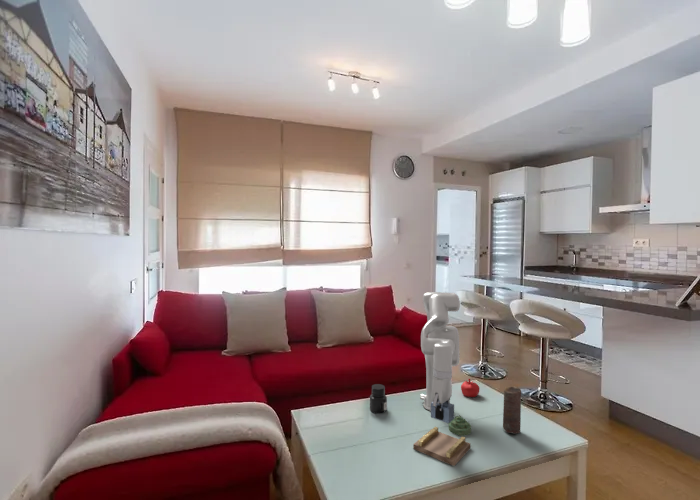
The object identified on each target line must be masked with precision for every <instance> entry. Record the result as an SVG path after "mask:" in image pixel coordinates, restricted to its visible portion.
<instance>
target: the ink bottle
mask: <svg viewBox="0 0 700 500" xmlns="http://www.w3.org/2000/svg"><path fill="white" fill-rule="evenodd" d="M385 389H386V387H385V385H384V384H382V383H381V384H380V383H375V384H372V385H371V394H370V396H369V410H370V411H371V412H372V413H374V412H375V414H383V413H385V412H387V410H388V398H387V397H388V396H387V395H386V394H385V393H386V390H385Z"/></svg>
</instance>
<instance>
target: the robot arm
mask: <svg viewBox="0 0 700 500" xmlns="http://www.w3.org/2000/svg"><path fill="white" fill-rule="evenodd" d="M422 304H423V308H424V311H425V313H426V317H427V318H426V319H427V321H426V323H425V324H424V326H423V327H422V329H421V333H420V348H421V352H422V354H423V355H424V358H425V368H426V370H425V371H426V372H425V373H426V376H425V377H426V382H425V383H426V393H425V394H423V393H420V395H419V399H420V400H422V401H423V403H422V404H423V405H422V406H423V408H425V410H427V411H430V412H431V403H432V402H433V401H434V402H433V406H434V407H435V418H436V419H435V420H437V419H439V420H438V421H440V420H443V410H442V407H443V403H444V402H447V403H450V402H451V401H450V400H451V398H452V394H453V385H452V384H453V383H452V378H453V367H457V366H459V364H460V360H461V359H460V357H461V356H460V353H461V352H460V333H459V330H458V328H457V327H456V326H453V325H448V324H449V320H450V319H449V312H458V311H459V310H460V307H461V301H460V298H459V296H458V295H457V293H455V292H440V291H438V292H437V291H433V292H432V291H429V292H425V293H424V294H423V295H422ZM438 400H439V401H440V402H439V401H438ZM438 404H440V406H439V405H438Z"/></svg>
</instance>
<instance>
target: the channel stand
mask: <svg viewBox="0 0 700 500" xmlns="http://www.w3.org/2000/svg"><path fill="white" fill-rule="evenodd" d="M466 439H467V438H466V437H465V436H460V438H457V437H454V436H452V435H449V434H446V433H443V432H440V431H439V427H438V426H434V427H433V428H431V429H429V431H427V432H426V433H425V434H424V435H422V436H421V437H420V438H419V439H418V440H416V441H415V442H414V443H413V446H412V447H413V448H412V449H413V450H415V451H418V452H420V453H422V454H425V455H427V456H429V457H431V458H434V459H435V460H439V461H441V462H443V463H445V464H448V465H449V466H450V465H451V466H453V467H455V466H456V465H457V464H458V463H459V462H460V461H461V459H462V458H463V457H464V456H465V455H466V454H467V453H468V452H469V451H470V450H471V447H472V446H471V443H470V442H467V441H466Z"/></svg>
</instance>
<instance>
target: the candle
mask: <svg viewBox="0 0 700 500" xmlns="http://www.w3.org/2000/svg"><path fill="white" fill-rule="evenodd" d="M521 406H522V389H521V388H519V387H518V386H505V387H504V389H503V409H502V410H503V412H502V413H503V414H502V415H503V416H502V429H503V430H504V432H505V433H509V434H510V433H511V434H514V435H515V434H520V433H521V422H522V421H521V418H522V417H521V415H522V414H521V413H522V411H521V409H522V407H521Z"/></svg>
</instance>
